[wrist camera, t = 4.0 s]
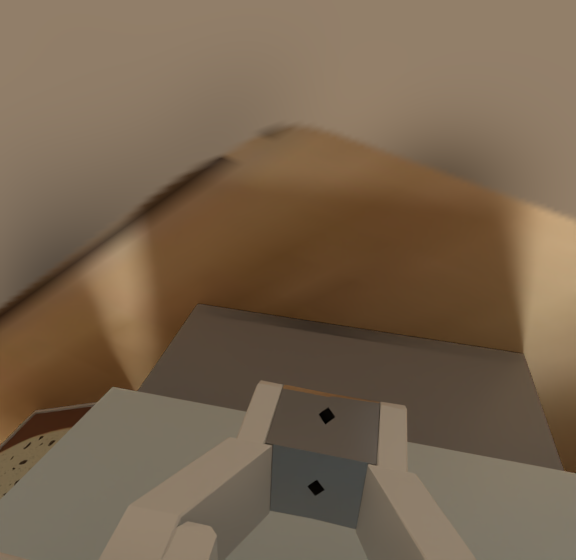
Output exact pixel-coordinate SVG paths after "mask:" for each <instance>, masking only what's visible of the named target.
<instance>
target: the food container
mask: <svg viewBox="0 0 576 560" xmlns="http://www.w3.org/2000/svg"><path fill="white" fill-rule="evenodd" d="M96 403H97V402H93V403H86V404H79V405H71V406H64V407H57V408H50V409H42V410H35V411H34V412H33V413H32V414H31V415H30V416H29V417H28V418H27V419H26V420H25V421H24V422H23V423H22V424H21V425H20V426H19V427H18V428H17V429H16V430H15V431H14V432H13V433H12V434H11V435H10V436H9V437H8V438H7V439H6V440H5V441H4V442H3V443H2V444H1V445H0V499H1V498H2V497H3V496H4V495H5V494H6V493H7V492H8V491H9V490H10V489H11V488H12V487H13V486H14V485H15V484H16V483H17V482H18V481H19V480H20V479H21V478H22V477H23V476H24V475H25V474H26V473H27V472H28V471H29V470H30V469H31V468H32V467H33V466H34V465H35V464H36V463H37V462H38V461H39V460H40V459H41V458H42V457H43V456H44V455H45V454H46V453H47V452H48V451H49V450H50V449H51V448H52V447H53V446H54V445H55V444H56V443H57V442H58V441H59V440H60V439H61V438H62V437H63V436H64V435H65V434H66V433H67V432H68V431H69V430H70V429H71V428H72V427H73V426H74V425H75V424H76V423H77V422H78V421H79V420H80V419H81V418H82V417H83V416H84V415H85V414H86V413H87V412H88V411H89V410H90V409H91V408H92V407H93V406H94V405H95V404H96Z"/></svg>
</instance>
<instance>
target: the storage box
mask: <svg viewBox="0 0 576 560" xmlns="http://www.w3.org/2000/svg"><path fill="white" fill-rule="evenodd" d="M261 380H262V381H267V382H272V383H277V384H282V385H290V386H295V387H300V388H305V389H310V390H315V391H320V392H325V393H330V394H336V395H342V396H348V397H354V398H360V399H366V400H372V401H378V402H379V403H380V402H386V403H393V404H399V405H405V407H406V409H407V442H411V443H417V444H422V445H427V446H433V447H438V448H443V449H449V450H454V451H459V452H465V453H470V454H475V455H481V456H486V457H491V458H497V459H502V460H507V461H513V462H518V463H524V464H529V465H534V466H540V467H545V468H550V469H556V470H561V471H564V469H563V466H562V463H561V461H560V458H559V455H558V452H557V449H556V446H555V443H554V440H553V437H552V434H551V432H550V429H549V426H548V423H547V420H546V417H545V414H544V411H543V408H542V405H541V403H540V400H539V397H538V394H537V391H536V388H535V385H534V382H533V379H532V376H531V373H530V371H529V368H528V365H527V362H526V359H525V356H524V354H522V353H515V352H509V351H502V350H496V349H489V348H483V347H476V346H470V345H463V344H457V343H450V342H444V341H437V340H431V339H424V338H418V337H411V336H405V335H398V334H392V333H385V332H379V331H372V330H366V329H359V328H353V327H346V326H340V325H333V324H327V323H320V322H314V321H307V320H301V319H294V318H288V317H281V316H275V315H268V314H262V313H255V312H249V311H242V310H236V309H229V308H223V307H216V306H210V305H203V304H197V305H196V307H195V308H194V310H193V311H192V313H191V314H190V316H189V317H188V318H187V320H186V321H185V323H184V324H183V326H182V327H181V329H180V330H179V332H178V333H177V334H176V336H175V337H174V339H173V340H172V342H171V343H170V345H169V346H168V348H167V349H166V350H165V352H164V353H163V355H162V356H161V358H160V359H159V361H158V362H157V364H156V365H155V366H154V368H153V369H152V371H151V372H150V374H149V375H148V377H147V378H146V379H145V381H144V382H143V384H142V385H141V387H140V388H139V390H138V392H144V393H149V394H154V395H160V396H165V397H170V398H176V399H181V400H186V401H192V402H197V403H203V404H208V405H213V406H219V407H224V408H229V409H235V410H240V411H245V412H247V409H248V407H249V404H250V402H251V399H252V396H253V394H254V391H255V389H256V386H257V384H258V383H259V382H260V381H261Z"/></svg>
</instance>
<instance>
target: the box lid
mask: <svg viewBox="0 0 576 560" xmlns="http://www.w3.org/2000/svg"><path fill="white" fill-rule="evenodd" d="M245 414H246V412H245V411H240V410H235V409H229V408H224V407H219V406H213V405H208V404H203V403H197V402H192V401H186V400H181V399H176V398H170V397H165V396H160V395H154V394H149V393H144V392H138V391H133V390H128V389H122V388H117V387H112V388H111V389H110V390H109V391H108V392H107V393H106V394H105V395H104V396H103V397H102V398H101V399H100V400H99V401H98V402H97V403H96V404H95V405H94V406H93V407H92V408H91V409H90V410H89V411H88V412H87V413H86V414H85V415H84V416H83V417H82V418H81V419H80V420H79V421H78V422H77V423H76V424H75V425H74V426H73V427H72V428H71V429H70V430H69V431H68V432H67V433H66V434H65V435H64V436H63V437H62V438H61V439H60V440H59V441H58V442H57V443H56V444H55V445H54V446H53V447H52V448H51V449H50V450H49V451H48V452H47V453H46V454H45V455H44V456H43V457H42V458H41V459H40V460H39V461H38V462H37V463H36V464H35V465H34V466H33V467H32V468H31V469H30V470H29V471H28V472H27V473H26V474H25V475H24V476H23V477H22V478H21V479H20V480H19V481H18V482H17V483H16V484H15V485H14V486H13V487H12V488H11V489H10V490H9V491H8V492H7V493H6V494H5V495H4V496H3V497H2V498H1V499H0V552H2V553H5V554H9V555H13V556H17V557H21V558H25V559H29V560H99V558H100V556H101V554H102V553H103V551H104V549H105V547H106V545H107V544H108V542H109V540H110V538H111V536H112V535H113V533H114V531H115V529H116V527H117V526H118V524H119V522H120V520H121V518H122V517H123V515H124V513H125V511H126V509H127V508H128V506H129V505H130V504H131V503H133V502H134V501H136V500H137V499H139V498H140V497H142V496H143V495H145V494H146V493H148V492H149V491H151V490H152V489H153V488H155V487H156V486H158V485H159V484H161V483H162V482H164V481H165V480H167V479H168V478H170V477H171V476H173V475H174V474H176V473H177V472H178V471H180V470H181V469H183V468H184V467H186V466H187V465H189V464H190V463H192V462H193V461H195V460H196V459H198V458H199V457H201V456H202V455H204V454H205V453H206V452H208V451H209V450H211V449H212V448H214V447H215V446H217V445H218V444H220V443H221V442H223V441H224V440H226V439H227V438H229V437H231V438H237V435H238V432H239V430H240V427H241V425H242V422H243V420H244V417H245ZM407 457H408V472H410V473H415V474H416V475H417V476H418V478H419V479H420V481H421V482H422V483H423V485H424V486H425V488H426V489H427V490H428V492H429V493H430V495H431V496H432V497H433V499H434V500H435V502H436V503H437V505H438V506H439V507H440V509H441V510H442V512H443V513H444V514H445V516H446V517H447V519H448V520H449V521H450V523H451V524H452V526H453V527H454V528H455V530H456V531H457V533H458V534H459V536H460V537H461V538H462V540H463V541H464V543H465V544H466V545H467V547H468V548H469V550H470V551H471V552H472V554H473V555H474V557H475V558H476V560H576V473H572V472H566V471H561V470H556V469H550V468H545V467H540V466H534V465H529V464H524V463H518V462H513V461H507V460H502V459H497V458H491V457H486V456H481V455H475V454H470V453H465V452H459V451H454V450H449V449H443V448H438V447H433V446H427V445H422V444H417V443H411V442H407ZM225 560H368V559H367V556H366V554H365V552H364V550H363V547H362V545H361V543H360V540H359V538H358V536H357V533H356V529H352V528H348V527H344V526H340V525H336V524H332V523H328V522H324V521H319V520H315V519H311V518H306V517H301V516H295V515H290V514H285V513H279V512H274V511H270V512H269V514H268V515H267V517H266V518H265V519H264V520H263V521H262V522H261V523H260V524H259V525H258V526H257V527H256V528H255V529H254V530H253V531H252V532H251V533H250V534H249V535H248V536H247V537H246V538H245V539H244V540H243V541H242V542H241V543H240V544H239V545H238V546H237V547H236V548H235V549H234V550H233V551H232V552H231V553H230V554H229V556H228V557H227V558H226V559H225Z"/></svg>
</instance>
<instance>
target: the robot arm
mask: <svg viewBox="0 0 576 560" xmlns="http://www.w3.org/2000/svg"><path fill="white" fill-rule="evenodd" d="M270 511H274V512H279V513H285V514H290V515H295V516H301V517H306V518H311V519H315V520H319V521H324V522H328V523H332V524H336V525H340V526H344V527H348V528H352V529H356V533H357V536H358V538H359V540H360V543H361V545H362V547H363V550H364V552H365V554H366V556H367V559H368V560H476V558H475V557H474V555H473V554H472V552H471V551H470V550H469V548H468V547H467V545H466V544H465V543H464V541H463V540H462V538H461V537H460V536H459V534H458V533H457V531H456V530H455V528H454V527H453V526H452V524H451V523H450V521H449V520H448V519H447V517H446V516H445V514H444V513H443V512H442V510H441V509H440V507H439V506H438V505H437V503H436V502H435V500H434V499H433V497H432V496H431V495H430V493H429V492H428V490H427V489H426V488H425V486H424V485H423V483H422V482H421V481H420V479H419V478H418V476H417V475H416V474H415V473H410V472H408V457H407V409H406V407H405V405H399V404H393V403H386V402H380V403H379V402H378V401H372V400H366V399H360V398H354V397H348V396H342V395H336V394H330V393H325V392H320V391H315V390H310V389H305V388H300V387H295V386H290V385H282V384H277V383H272V382H267V381H262V380H261V381H260V382H259V383H258V384H257V386H256V389H255V391H254V394H253V396H252V399H251V402H250V404H249V407H248V409H247V412H246V414H245V417H244V420H243V422H242V425H241V427H240V430H239V432H238V435H237V438H231V437H229V438H227V439H226V440H224V441H223V442H221V443H220V444H218V445H217V446H215V447H214V448H212V449H211V450H209V451H208V452H206V453H205V454H204V455H202V456H201V457H199V458H198V459H196V460H195V461H193V462H192V463H190V464H189V465H187V466H186V467H184V468H183V469H181V470H180V471H178V472H177V473H176V474H174V475H173V476H171V477H170V478H168V479H167V480H165V481H164V482H162V483H161V484H159V485H158V486H156V487H155V488H153V489H152V490H151V491H149V492H148V493H146V494H145V495H143V496H142V497H140V498H139V499H137V500H136V501H134V502H133V503H131V504H130V505H129V506H128V508H127V509H126V511H125V513H124V515H123V517H122V518H121V520H120V522H119V524H118V526H117V527H116V529H115V531H114V533H113V535H112V536H111V538H110V540H109V542H108V544H107V545H106V547H105V549H104V551H103V553H102V554H101V556H100V558H99V560H225V559H226V558H227V557H228V556H229V554H230V553H231V552H232V551H233V550H234V549H235V548H236V547H237V546H238V545H239V544H240V543H241V542H242V541H243V540H244V539H245V538H246V537H247V536H248V535H249V534H250V533H251V532H252V531H253V530H254V529H255V528H256V527H257V526H258V525H259V524H260V523H261V522H262V521H263V520H264V519H265V518H266V517H267V515H268V514H269V512H270ZM0 560H29V559H25V558H21V557H17V556H13V555H9V554H5V553H2V552H0Z"/></svg>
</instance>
